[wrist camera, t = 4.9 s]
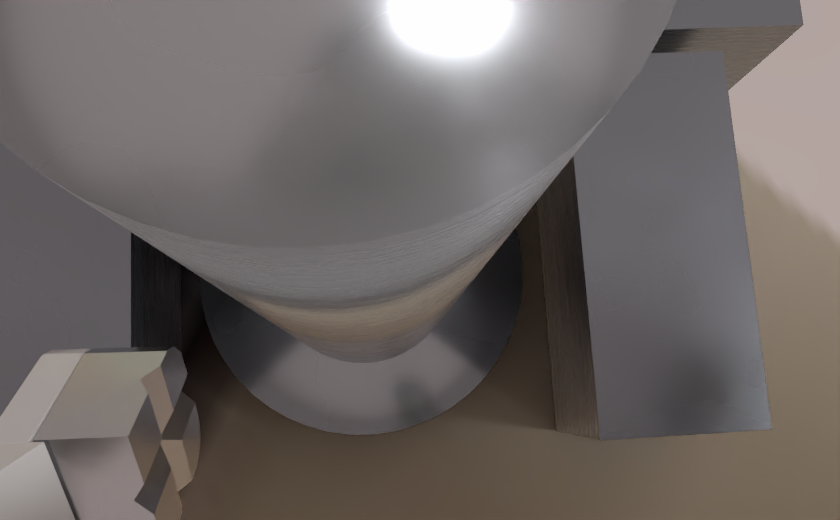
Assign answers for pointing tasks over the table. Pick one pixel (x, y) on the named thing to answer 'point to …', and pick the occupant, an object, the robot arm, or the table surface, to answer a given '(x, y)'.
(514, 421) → the table surface
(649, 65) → the vise
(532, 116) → the grey tall rounded piece
